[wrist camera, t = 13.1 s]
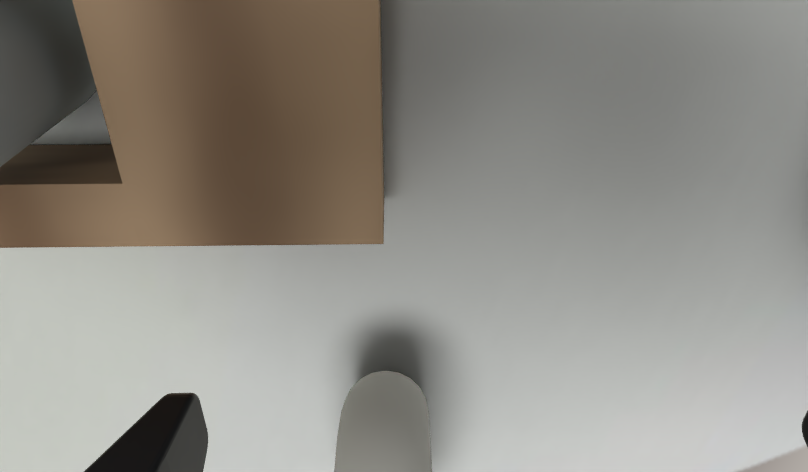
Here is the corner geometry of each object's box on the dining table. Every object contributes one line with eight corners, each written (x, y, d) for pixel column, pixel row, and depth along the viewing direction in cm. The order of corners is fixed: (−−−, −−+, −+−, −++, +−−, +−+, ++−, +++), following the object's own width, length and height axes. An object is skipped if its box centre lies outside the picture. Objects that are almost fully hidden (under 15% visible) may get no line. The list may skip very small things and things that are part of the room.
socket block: (377, -168, 16) (375, -176, 13) (384, 199, 21) (383, 243, 19) (-239, -170, 15) (-364, -178, 13) (-65, 203, 21) (-127, 248, 19)
